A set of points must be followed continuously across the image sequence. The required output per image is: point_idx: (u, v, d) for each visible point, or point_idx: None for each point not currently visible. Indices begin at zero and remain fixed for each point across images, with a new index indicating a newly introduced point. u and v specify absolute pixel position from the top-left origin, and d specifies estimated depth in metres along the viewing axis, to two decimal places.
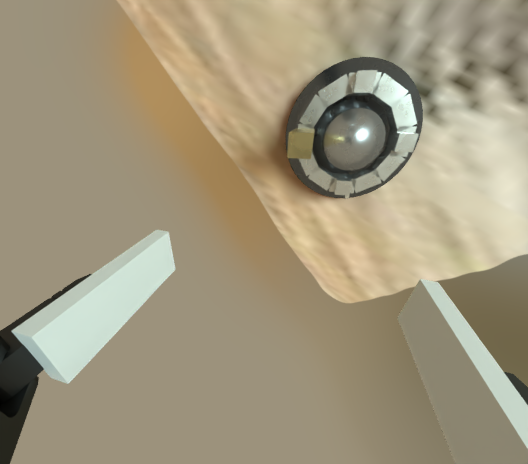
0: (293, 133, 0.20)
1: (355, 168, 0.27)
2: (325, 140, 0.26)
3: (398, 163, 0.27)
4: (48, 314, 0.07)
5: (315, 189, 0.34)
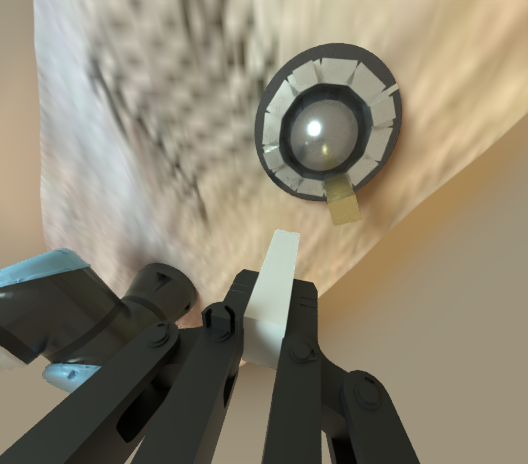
0: (334, 221, 0.19)
1: (351, 115, 0.21)
2: (331, 167, 0.24)
3: (329, 61, 0.21)
4: (259, 302, 0.08)
5: (395, 136, 0.25)
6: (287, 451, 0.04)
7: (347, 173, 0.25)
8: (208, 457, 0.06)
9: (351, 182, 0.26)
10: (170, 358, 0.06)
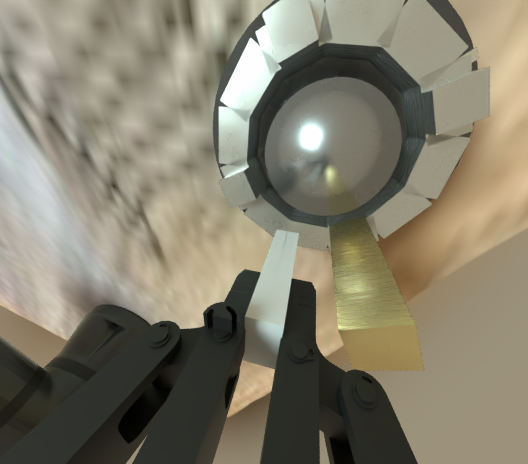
0: (354, 363, 0.08)
1: (390, 110, 0.10)
2: (343, 210, 0.12)
3: None
4: (260, 303, 0.08)
5: None
6: (285, 451, 0.04)
7: (370, 217, 0.14)
8: (209, 458, 0.05)
9: (377, 232, 0.14)
10: (172, 359, 0.06)
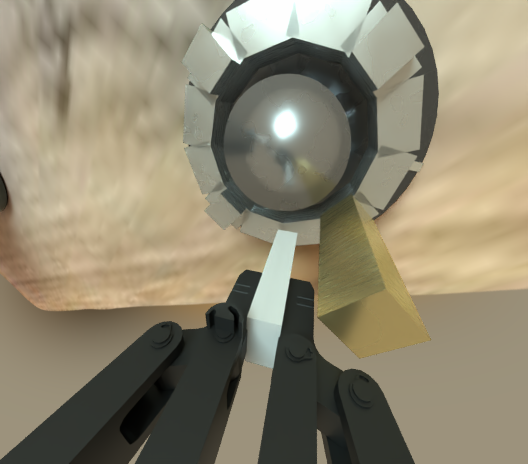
0: (354, 350, 0.07)
1: (345, 157, 0.11)
2: (264, 204, 0.13)
3: (241, 12, 0.10)
4: (262, 303, 0.08)
5: None
6: (283, 450, 0.04)
7: (358, 193, 0.13)
8: (211, 459, 0.05)
9: (373, 206, 0.13)
10: (174, 359, 0.06)
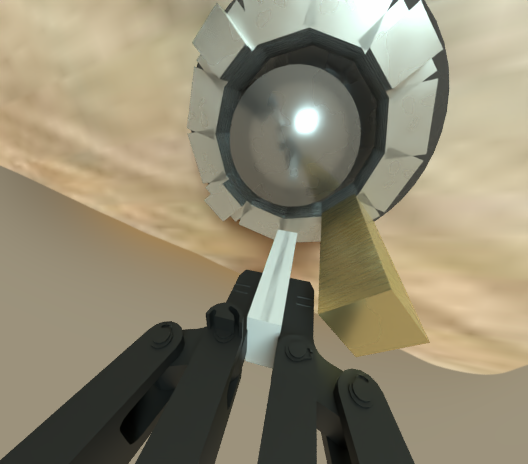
0: (351, 348, 0.07)
1: (332, 188, 0.12)
2: (243, 177, 0.13)
3: None
4: (262, 303, 0.08)
5: None
6: (282, 450, 0.04)
7: (361, 193, 0.13)
8: (211, 459, 0.05)
9: (374, 207, 0.13)
10: (174, 359, 0.06)
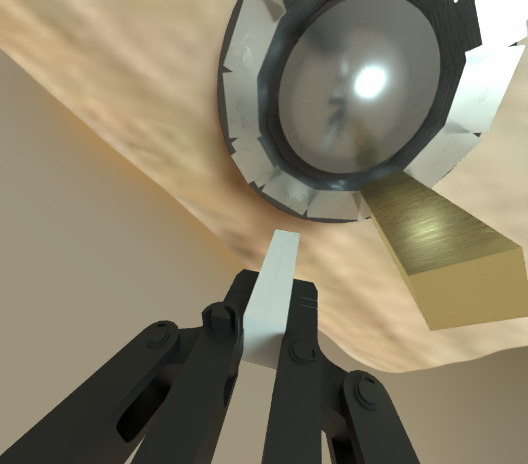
0: (430, 320, 0.06)
1: (369, 164, 0.11)
2: (282, 113, 0.11)
3: None
4: (259, 302, 0.08)
5: (299, 214, 0.19)
6: (287, 451, 0.04)
7: (407, 170, 0.12)
8: (208, 457, 0.06)
9: None
10: (170, 358, 0.06)
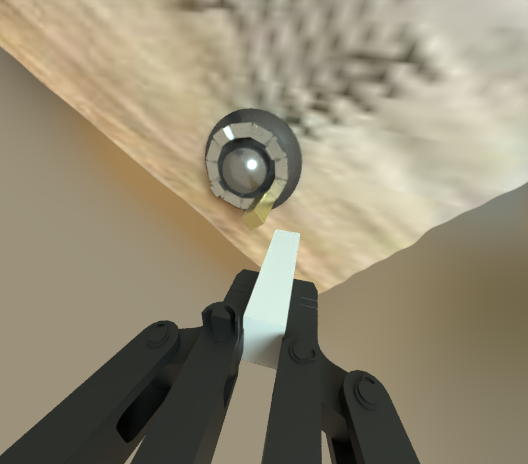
0: (249, 227, 0.30)
1: (252, 190, 0.35)
2: (224, 175, 0.34)
3: (235, 125, 0.32)
4: (259, 302, 0.08)
5: None
6: (287, 451, 0.04)
7: (269, 191, 0.36)
8: (208, 457, 0.06)
9: (274, 196, 0.36)
10: (170, 358, 0.06)
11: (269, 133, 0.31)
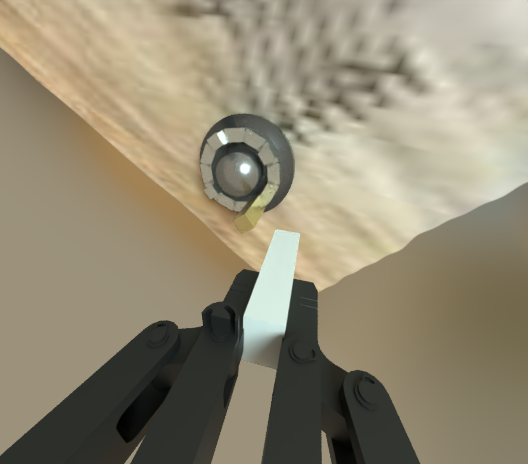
0: (240, 231, 0.31)
1: (245, 194, 0.35)
2: (217, 179, 0.35)
3: (228, 130, 0.33)
4: (259, 302, 0.08)
5: None
6: (287, 451, 0.04)
7: (262, 194, 0.36)
8: (208, 457, 0.06)
9: (266, 200, 0.37)
10: (170, 358, 0.06)
11: (262, 139, 0.32)
